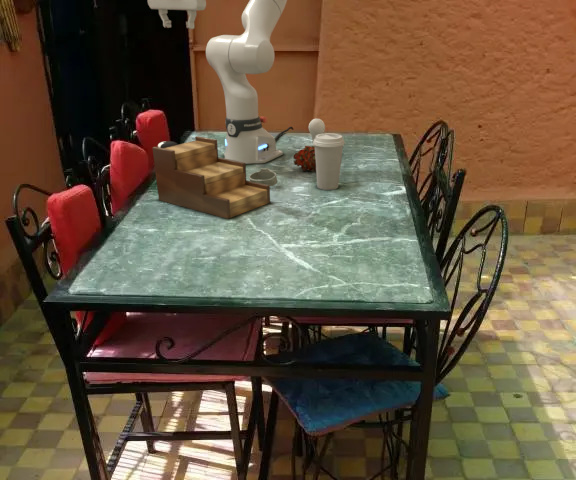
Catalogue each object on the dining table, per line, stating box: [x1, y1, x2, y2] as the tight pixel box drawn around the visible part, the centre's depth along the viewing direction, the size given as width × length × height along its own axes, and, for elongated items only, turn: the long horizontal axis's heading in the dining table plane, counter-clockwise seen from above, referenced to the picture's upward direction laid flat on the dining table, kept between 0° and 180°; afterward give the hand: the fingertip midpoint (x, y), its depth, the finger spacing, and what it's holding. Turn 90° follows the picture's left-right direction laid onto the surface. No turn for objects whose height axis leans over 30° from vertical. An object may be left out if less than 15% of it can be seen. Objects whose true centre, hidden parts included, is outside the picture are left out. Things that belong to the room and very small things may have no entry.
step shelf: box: [152, 135, 271, 220], centre depth 182 cm, size 18×28×15 cm, turn 51°
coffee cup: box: [312, 132, 346, 191], centre depth 193 cm, size 10×10×15 cm
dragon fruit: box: [292, 145, 316, 172], centre depth 212 cm, size 8×8×12 cm
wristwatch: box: [248, 167, 279, 187], centre depth 198 cm, size 9×6×5 cm
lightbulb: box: [307, 118, 326, 146], centre depth 235 cm, size 6×6×11 cm
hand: (178, 28), depth 183 cm, fingers open, 8 cm apart
